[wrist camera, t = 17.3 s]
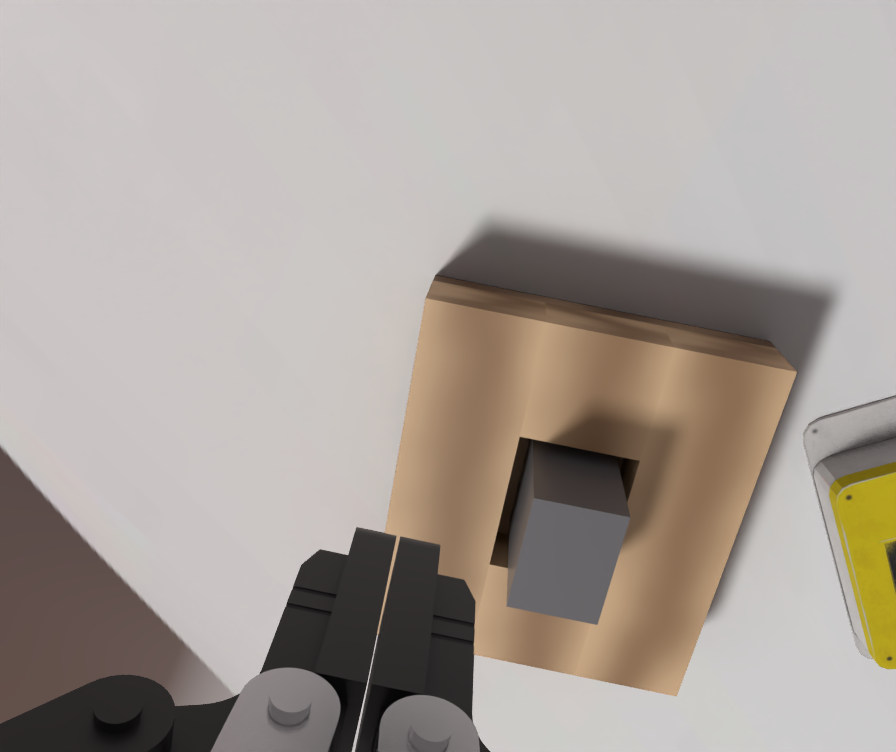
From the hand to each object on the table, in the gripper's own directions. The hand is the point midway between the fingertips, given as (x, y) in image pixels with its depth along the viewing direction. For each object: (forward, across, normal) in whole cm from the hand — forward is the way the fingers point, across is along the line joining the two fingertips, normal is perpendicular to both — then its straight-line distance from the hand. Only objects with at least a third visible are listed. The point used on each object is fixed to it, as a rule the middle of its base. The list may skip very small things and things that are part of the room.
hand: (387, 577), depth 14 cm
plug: (+24, -8, +10) cm, 27 cm away
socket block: (+25, -8, +10) cm, 28 cm away
